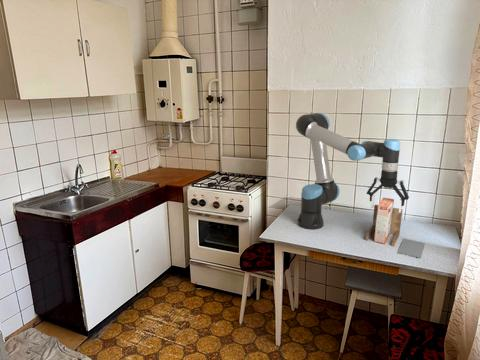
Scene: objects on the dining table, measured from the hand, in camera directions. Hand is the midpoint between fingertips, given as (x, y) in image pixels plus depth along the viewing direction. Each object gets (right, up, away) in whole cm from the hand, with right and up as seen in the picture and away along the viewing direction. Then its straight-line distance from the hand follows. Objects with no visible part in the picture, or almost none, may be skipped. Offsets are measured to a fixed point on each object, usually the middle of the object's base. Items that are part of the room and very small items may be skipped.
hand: (385, 209), depth 181 cm
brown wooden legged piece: (+1, -16, +6) cm, 17 cm away
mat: (+10, -19, -7) cm, 23 cm away
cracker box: (0, -16, +5) cm, 17 cm away
